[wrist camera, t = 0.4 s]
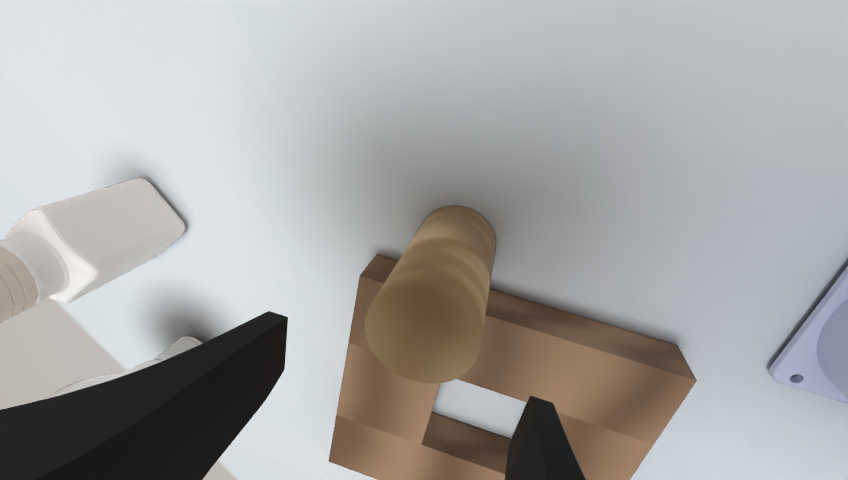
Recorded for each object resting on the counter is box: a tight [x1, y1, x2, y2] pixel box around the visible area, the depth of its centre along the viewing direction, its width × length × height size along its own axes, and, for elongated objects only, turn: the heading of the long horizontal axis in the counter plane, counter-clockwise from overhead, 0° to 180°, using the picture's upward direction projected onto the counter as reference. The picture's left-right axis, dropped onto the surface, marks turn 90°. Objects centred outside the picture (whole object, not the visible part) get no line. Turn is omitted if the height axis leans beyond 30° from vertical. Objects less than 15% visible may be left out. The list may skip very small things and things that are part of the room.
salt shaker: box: [0, 178, 186, 323], centre depth 20 cm, size 4×4×10 cm
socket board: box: [329, 255, 697, 480], centre depth 23 cm, size 16×14×2 cm
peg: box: [365, 206, 496, 383], centre depth 17 cm, size 4×4×8 cm
